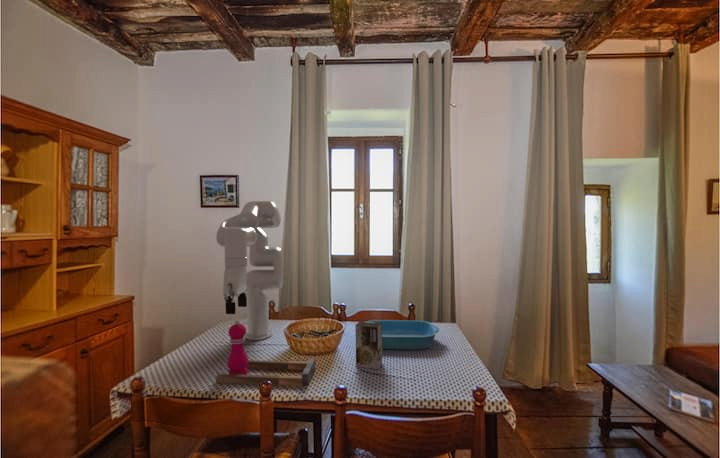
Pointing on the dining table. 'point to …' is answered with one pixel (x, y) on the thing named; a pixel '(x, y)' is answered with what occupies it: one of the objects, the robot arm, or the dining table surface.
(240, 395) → the dining table surface
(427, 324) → the casserole dish
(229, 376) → the guide channel
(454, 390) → the dining table surface
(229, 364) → the pepper mill
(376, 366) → the coffee box
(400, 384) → the dining table surface
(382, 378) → the dining table surface
